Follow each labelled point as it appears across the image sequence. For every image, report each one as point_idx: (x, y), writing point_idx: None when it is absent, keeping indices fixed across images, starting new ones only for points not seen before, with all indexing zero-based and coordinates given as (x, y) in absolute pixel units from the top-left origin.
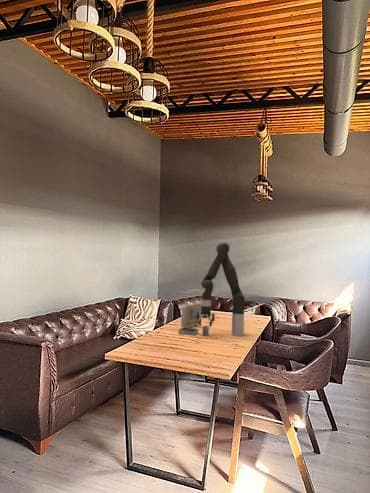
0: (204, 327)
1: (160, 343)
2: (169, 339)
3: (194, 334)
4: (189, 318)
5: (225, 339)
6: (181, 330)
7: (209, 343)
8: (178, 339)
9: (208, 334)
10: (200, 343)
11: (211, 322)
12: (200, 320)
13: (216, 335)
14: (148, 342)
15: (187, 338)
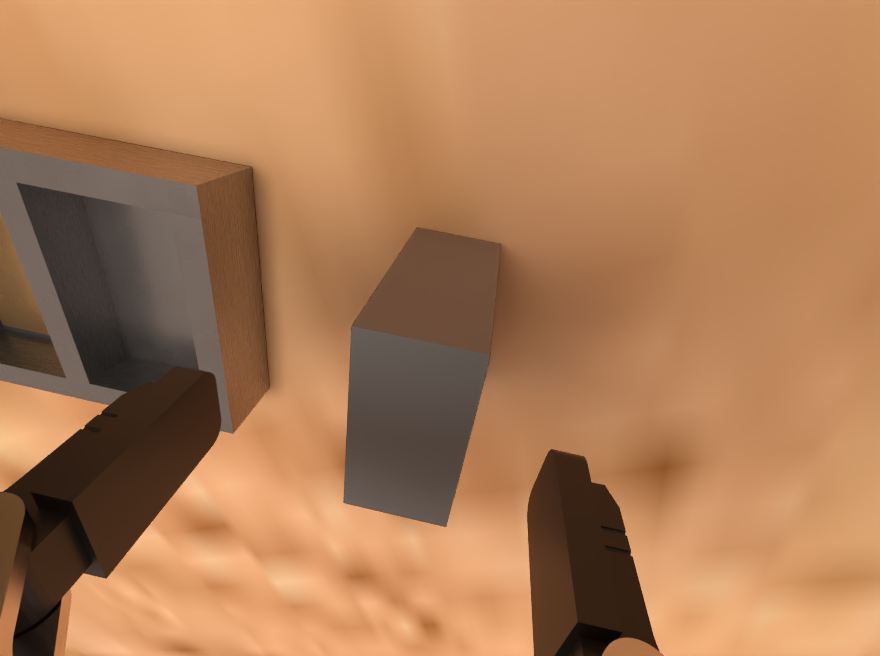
0: (396, 504)
1: (167, 653)
2: (140, 572)
3: (261, 376)
4: None
5: (831, 506)
6: (1, 379)
7: None
8: (209, 565)
9: (499, 251)
10: (464, 650)
11: None
12: (83, 550)
13: (693, 266)
14: (84, 638)
15: (268, 526)
